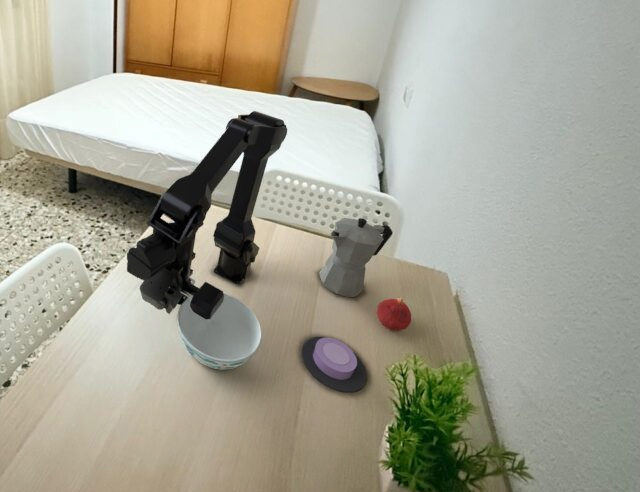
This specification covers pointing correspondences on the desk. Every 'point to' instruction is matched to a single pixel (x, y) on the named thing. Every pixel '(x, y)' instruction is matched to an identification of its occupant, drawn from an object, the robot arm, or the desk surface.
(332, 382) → the coaster
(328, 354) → the purple disc
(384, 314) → the red pomegranate
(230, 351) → the chinaware
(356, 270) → the coffeepot
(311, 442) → the desk surface
